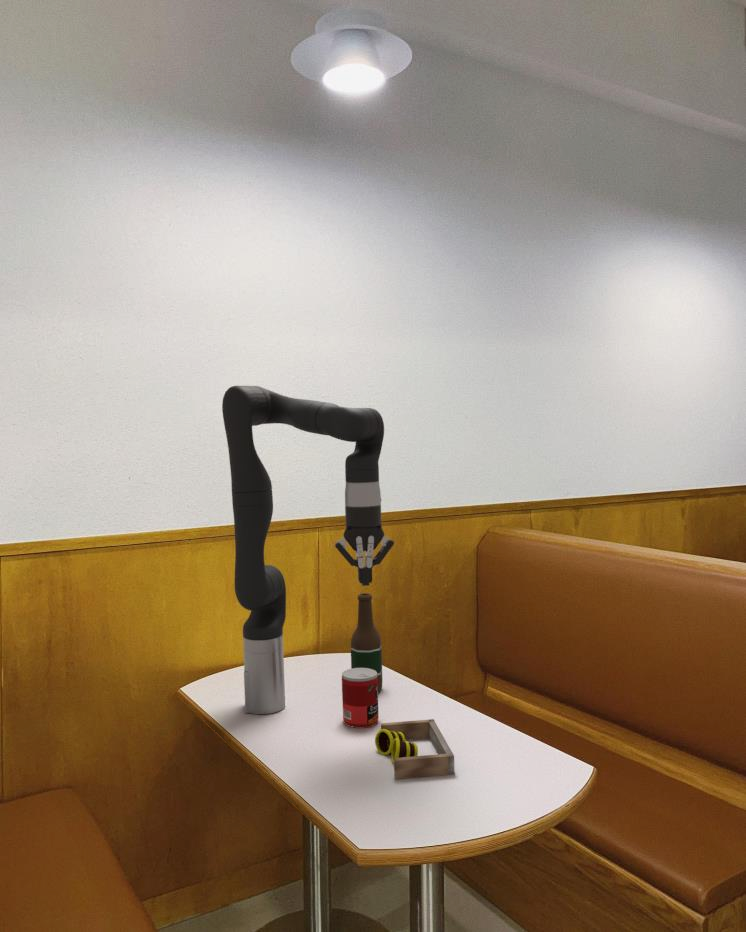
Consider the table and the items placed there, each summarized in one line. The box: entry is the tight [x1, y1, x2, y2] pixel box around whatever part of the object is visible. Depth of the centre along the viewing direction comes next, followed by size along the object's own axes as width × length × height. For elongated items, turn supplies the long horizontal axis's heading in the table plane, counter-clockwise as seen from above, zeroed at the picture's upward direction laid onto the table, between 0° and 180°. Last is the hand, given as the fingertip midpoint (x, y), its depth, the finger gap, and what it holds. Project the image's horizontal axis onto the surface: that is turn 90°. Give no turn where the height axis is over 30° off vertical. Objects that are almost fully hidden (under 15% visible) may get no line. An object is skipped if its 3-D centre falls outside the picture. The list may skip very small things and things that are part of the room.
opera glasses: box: [374, 728, 419, 765], centre depth 155 cm, size 10×5×5 cm, turn 25°
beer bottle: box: [350, 592, 383, 694], centre depth 193 cm, size 8×8×24 cm
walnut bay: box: [380, 718, 456, 780], centre depth 155 cm, size 11×18×4 cm, turn 8°
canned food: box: [341, 668, 380, 728], centre depth 173 cm, size 8×8×11 cm
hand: (365, 584), depth 165 cm, fingers closed
